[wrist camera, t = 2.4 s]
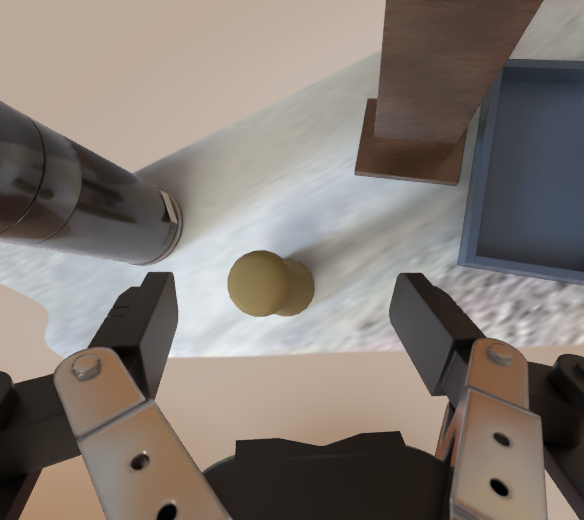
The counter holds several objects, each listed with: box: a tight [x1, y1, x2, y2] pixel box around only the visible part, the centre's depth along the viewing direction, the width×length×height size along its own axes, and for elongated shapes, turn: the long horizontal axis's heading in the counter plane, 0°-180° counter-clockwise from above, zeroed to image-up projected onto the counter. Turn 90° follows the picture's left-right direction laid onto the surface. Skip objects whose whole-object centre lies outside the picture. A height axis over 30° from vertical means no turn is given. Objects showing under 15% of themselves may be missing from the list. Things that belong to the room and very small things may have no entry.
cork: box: [228, 250, 314, 317], centre depth 30 cm, size 6×6×11 cm
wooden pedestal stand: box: [355, 0, 544, 186], centre depth 19 cm, size 10×8×32 cm
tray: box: [457, 59, 584, 285], centre depth 31 cm, size 12×20×2 cm, turn 169°
